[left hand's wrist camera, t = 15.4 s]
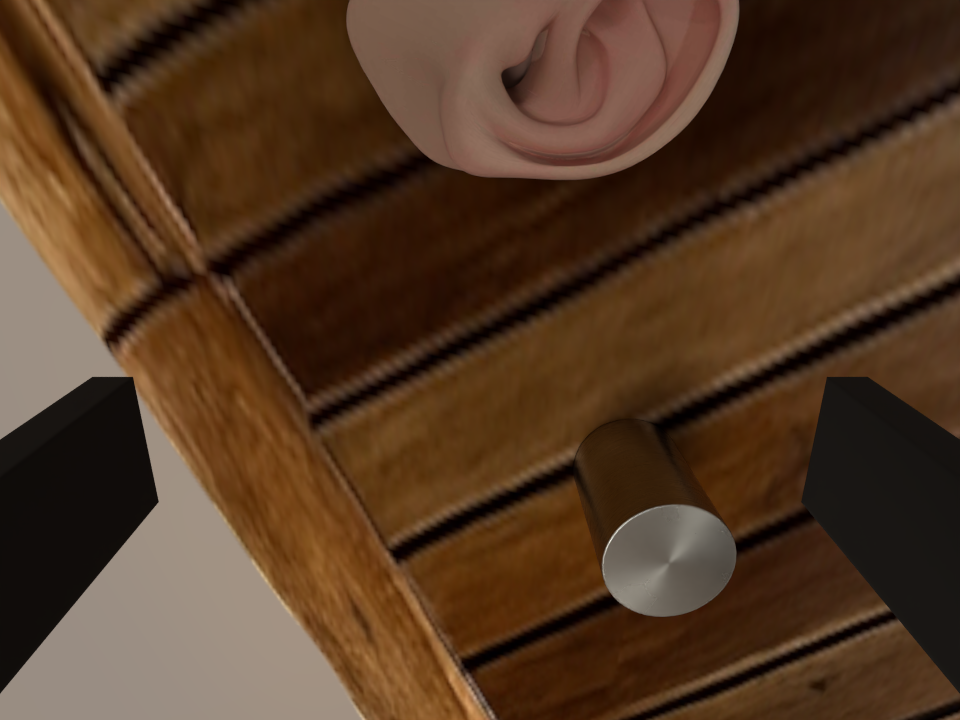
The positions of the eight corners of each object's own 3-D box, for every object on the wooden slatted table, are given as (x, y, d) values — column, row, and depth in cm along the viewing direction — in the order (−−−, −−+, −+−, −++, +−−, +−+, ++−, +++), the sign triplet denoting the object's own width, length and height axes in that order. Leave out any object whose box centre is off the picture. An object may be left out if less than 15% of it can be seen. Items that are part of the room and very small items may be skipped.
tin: (566, 506, 33) (591, 611, 26) (582, 413, 32) (614, 498, 24) (666, 515, 34) (719, 622, 26) (688, 423, 32) (751, 511, 25)
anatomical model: (282, 70, 22) (459, -285, 19) (309, 78, 26) (462, -218, 23) (591, 274, 25) (793, -9, 22) (576, 255, 29) (746, 11, 26)
